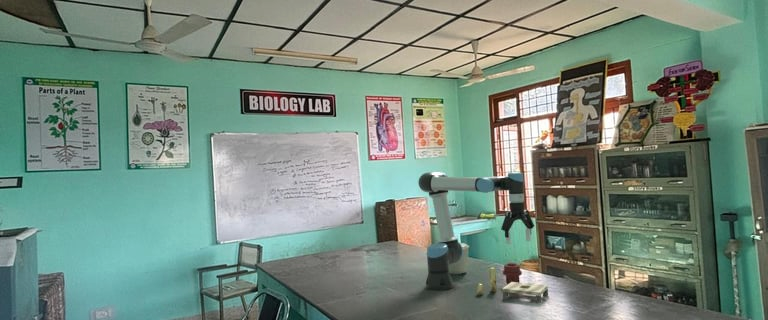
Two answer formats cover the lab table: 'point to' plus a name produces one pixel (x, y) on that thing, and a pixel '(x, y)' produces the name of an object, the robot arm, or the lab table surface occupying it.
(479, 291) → the short pin
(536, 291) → the stand
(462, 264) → the canister
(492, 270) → the long pin
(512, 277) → the mechanical component
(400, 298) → the lab table surface
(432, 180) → the robot arm
